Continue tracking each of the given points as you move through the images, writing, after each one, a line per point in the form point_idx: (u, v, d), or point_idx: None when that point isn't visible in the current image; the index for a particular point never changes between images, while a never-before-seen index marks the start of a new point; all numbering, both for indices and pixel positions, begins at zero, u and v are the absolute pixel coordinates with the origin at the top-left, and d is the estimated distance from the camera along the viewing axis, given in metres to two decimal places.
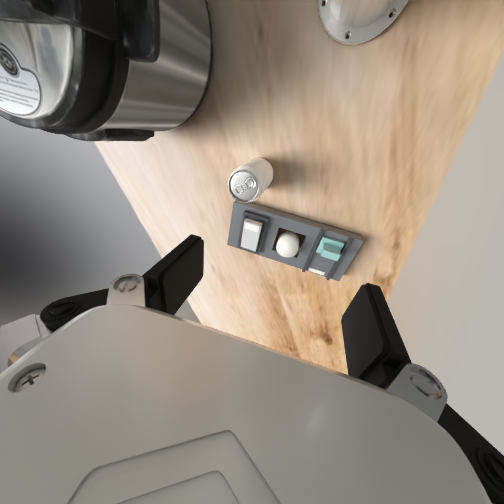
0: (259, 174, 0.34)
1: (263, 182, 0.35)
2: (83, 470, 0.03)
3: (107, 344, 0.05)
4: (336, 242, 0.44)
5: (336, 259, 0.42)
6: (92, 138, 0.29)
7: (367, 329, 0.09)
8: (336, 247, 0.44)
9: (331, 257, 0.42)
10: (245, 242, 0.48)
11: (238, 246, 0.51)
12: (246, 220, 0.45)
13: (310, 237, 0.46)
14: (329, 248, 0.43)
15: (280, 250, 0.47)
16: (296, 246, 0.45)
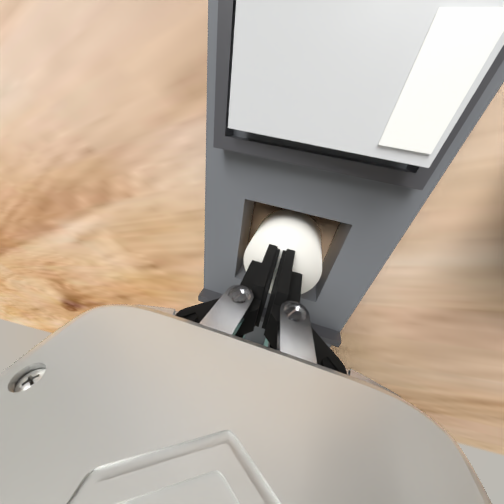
0: None
1: None
2: (83, 470, 0.03)
3: (107, 344, 0.05)
4: None
5: None
6: None
7: None
8: None
9: None
10: (280, 39, 0.07)
11: None
12: None
13: (308, 310, 0.16)
14: None
15: (268, 245, 0.12)
16: None
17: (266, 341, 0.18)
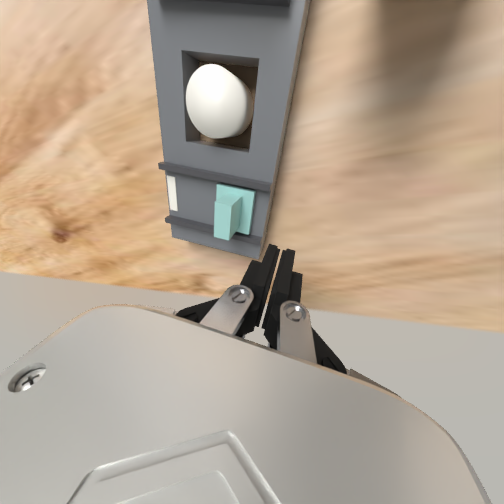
0: None
1: None
2: (83, 470, 0.03)
3: (107, 344, 0.05)
4: (248, 220, 0.21)
5: (217, 234, 0.20)
6: None
7: None
8: (238, 223, 0.22)
9: (218, 224, 0.19)
10: None
11: None
12: None
13: (245, 163, 0.19)
14: (234, 213, 0.19)
15: (200, 83, 0.16)
16: (225, 131, 0.17)
17: None
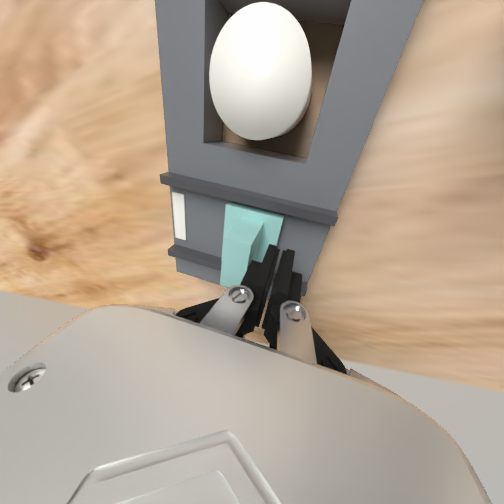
0: None
1: None
2: (83, 470, 0.03)
3: (107, 344, 0.05)
4: None
5: (225, 282, 0.13)
6: None
7: None
8: (255, 260, 0.15)
9: (228, 269, 0.12)
10: None
11: None
12: None
13: (297, 180, 0.12)
14: (253, 252, 0.12)
15: (238, 41, 0.09)
16: (273, 129, 0.10)
17: (225, 232, 0.15)
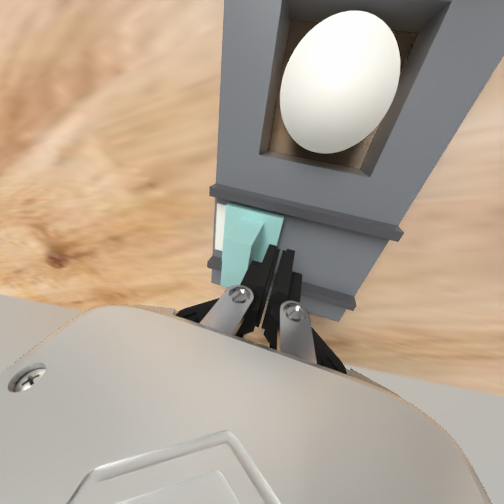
0: None
1: None
2: (83, 470, 0.03)
3: (107, 344, 0.05)
4: None
5: (225, 283, 0.13)
6: None
7: None
8: (256, 260, 0.15)
9: (228, 270, 0.12)
10: None
11: None
12: None
13: (358, 194, 0.12)
14: (253, 252, 0.12)
15: (320, 51, 0.08)
16: (345, 143, 0.10)
17: (225, 232, 0.15)
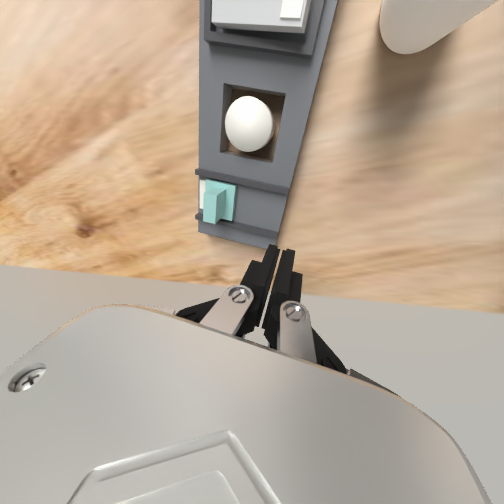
0: None
1: None
2: (83, 470, 0.03)
3: (107, 344, 0.05)
4: (231, 209, 0.27)
5: (205, 219, 0.25)
6: None
7: None
8: (223, 211, 0.27)
9: (206, 211, 0.24)
10: None
11: None
12: None
13: (268, 171, 0.24)
14: (219, 202, 0.24)
15: (239, 109, 0.21)
16: (255, 147, 0.22)
17: None
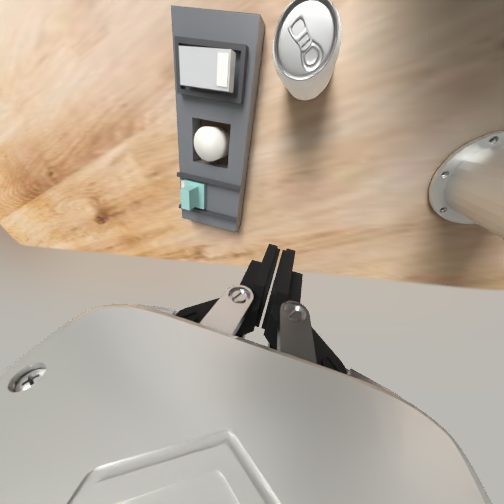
0: (323, 77, 0.20)
1: (308, 87, 0.21)
2: (83, 470, 0.03)
3: (107, 344, 0.05)
4: (202, 200, 0.38)
5: (183, 207, 0.36)
6: None
7: None
8: (197, 202, 0.38)
9: (183, 201, 0.35)
10: (190, 57, 0.26)
11: (177, 39, 0.26)
12: (232, 54, 0.24)
13: (225, 174, 0.35)
14: (192, 195, 0.36)
15: (201, 134, 0.32)
16: (214, 158, 0.33)
17: None
